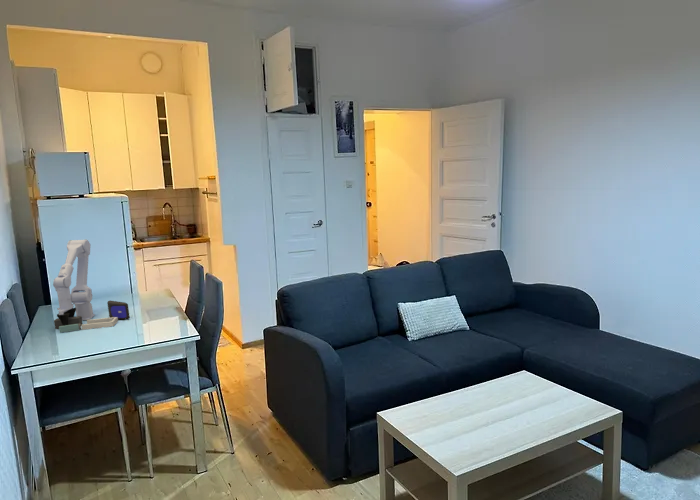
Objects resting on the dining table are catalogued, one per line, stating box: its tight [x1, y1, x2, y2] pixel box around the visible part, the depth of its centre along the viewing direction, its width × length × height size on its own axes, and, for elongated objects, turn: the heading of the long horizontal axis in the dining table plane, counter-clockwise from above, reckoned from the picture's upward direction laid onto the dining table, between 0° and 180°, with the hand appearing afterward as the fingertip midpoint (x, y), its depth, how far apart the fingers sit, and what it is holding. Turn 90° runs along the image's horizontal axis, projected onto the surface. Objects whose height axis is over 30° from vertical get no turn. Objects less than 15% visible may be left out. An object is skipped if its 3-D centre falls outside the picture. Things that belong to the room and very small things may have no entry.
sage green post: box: [58, 323, 82, 334], centre depth 246 cm, size 10×1×3 cm, turn 111°
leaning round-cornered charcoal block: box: [107, 300, 131, 321], centre depth 264 cm, size 16×5×9 cm, turn 60°
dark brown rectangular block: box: [53, 316, 83, 330], centre depth 254 cm, size 4×12×5 cm, turn 100°
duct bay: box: [81, 317, 119, 331], centre depth 253 cm, size 9×15×2 cm, turn 101°
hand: (68, 324), depth 254 cm, fingers open, 7 cm apart
